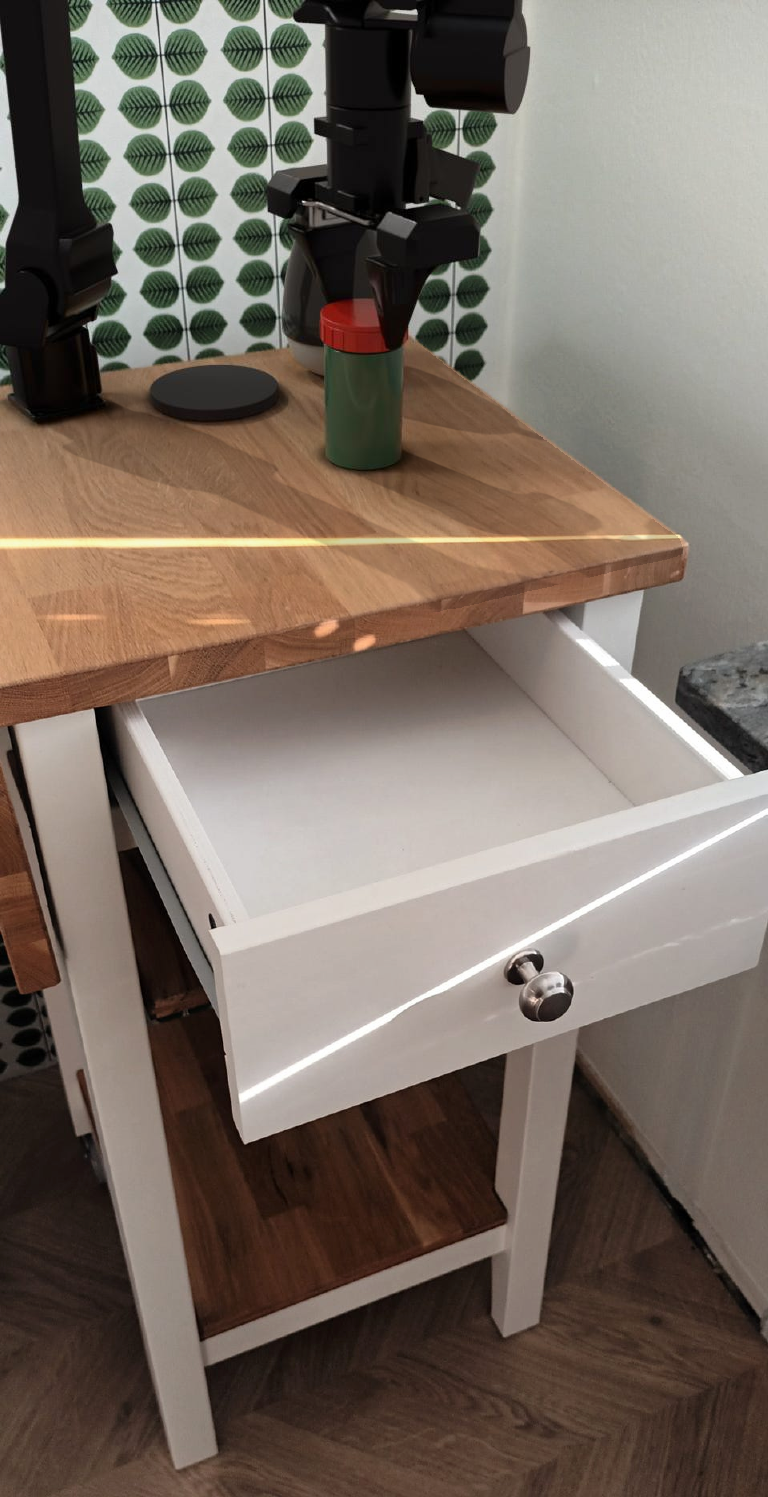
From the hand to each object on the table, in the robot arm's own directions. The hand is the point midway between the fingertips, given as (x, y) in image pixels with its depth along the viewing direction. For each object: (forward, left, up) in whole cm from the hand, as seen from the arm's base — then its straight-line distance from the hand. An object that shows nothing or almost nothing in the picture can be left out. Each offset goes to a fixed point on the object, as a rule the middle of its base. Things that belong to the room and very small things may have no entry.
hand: (368, 335), depth 93 cm
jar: (0, 0, -9) cm, 9 cm away
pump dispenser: (+9, +18, -10) cm, 22 cm away
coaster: (-4, +18, -9) cm, 20 cm away
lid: (0, 0, +1) cm, 1 cm away
